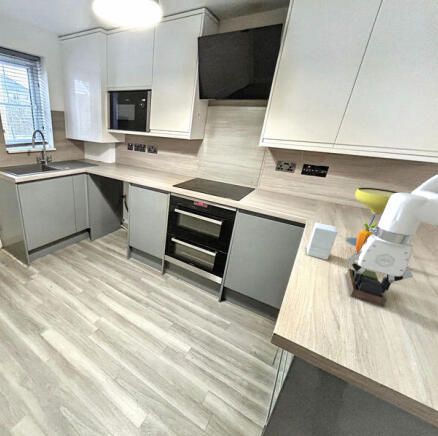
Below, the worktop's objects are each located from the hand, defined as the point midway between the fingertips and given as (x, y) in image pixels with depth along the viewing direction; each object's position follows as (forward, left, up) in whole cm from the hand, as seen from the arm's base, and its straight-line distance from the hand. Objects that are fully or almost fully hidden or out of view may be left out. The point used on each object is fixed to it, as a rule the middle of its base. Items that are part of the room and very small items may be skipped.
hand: (368, 286), depth 75 cm
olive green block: (0, -7, -3) cm, 7 cm away
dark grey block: (0, 0, -2) cm, 2 cm away
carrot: (-2, -33, -3) cm, 34 cm away
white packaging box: (+13, -22, -3) cm, 26 cm away
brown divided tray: (0, -3, -3) cm, 5 cm away
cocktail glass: (-5, -48, -3) cm, 49 cm away
